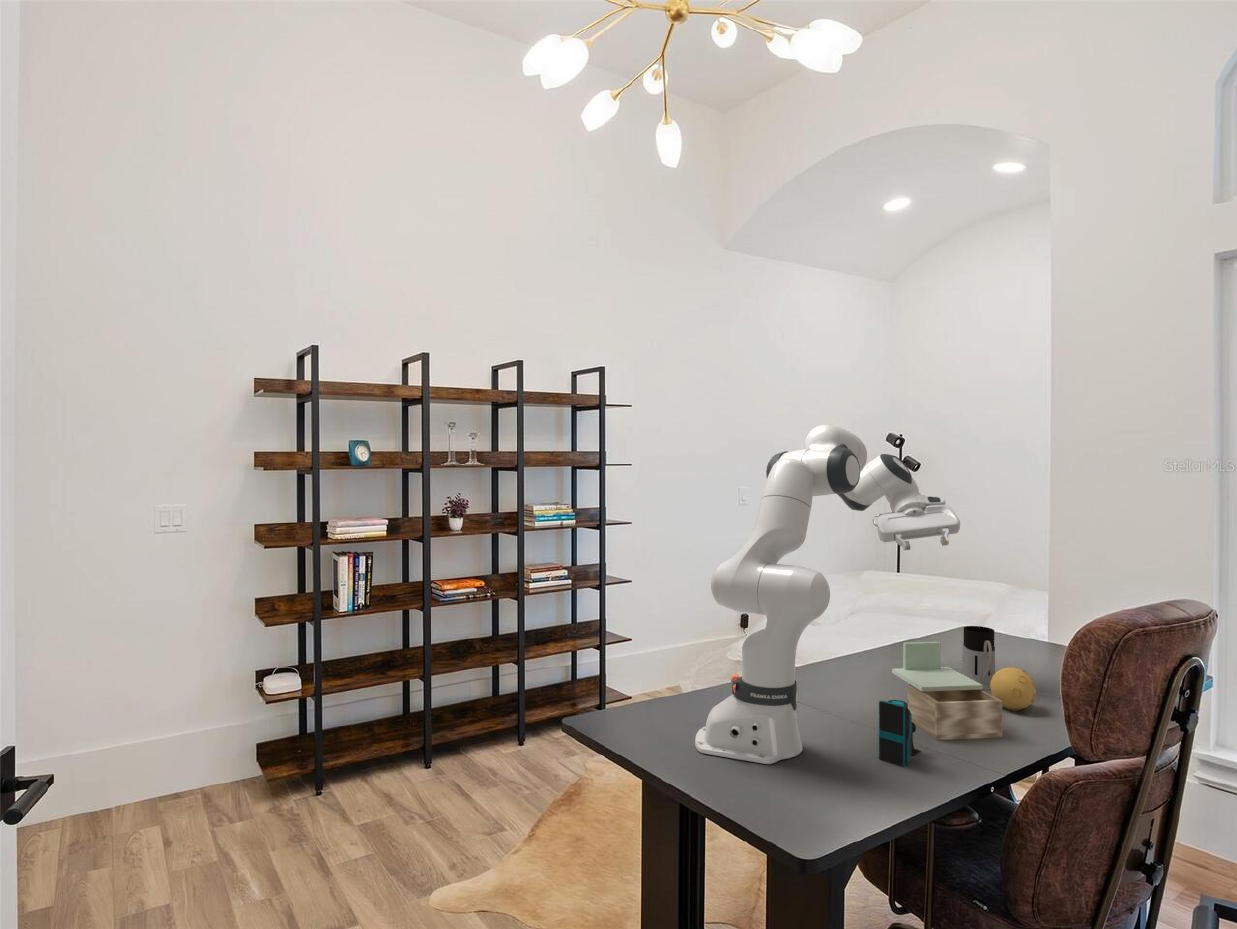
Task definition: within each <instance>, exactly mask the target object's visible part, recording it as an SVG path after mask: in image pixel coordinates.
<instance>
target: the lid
mask: <svg viewBox="0 0 1237 929" xmlns="http://www.w3.org/2000/svg"><path fill="white" fill-rule="evenodd" d="M902 644H903V645H902V647H903V648H902V667H901V668H892V669H891V672H892V674H893V675H895V676H897V677H898V678H900V679H901V680H902V681H904V682H906V683H907V684H911V685H912V686H914V687H915V688H917V689H918V690H920V691H951V690H980V689H982V686H983V685H981V684H980V683H978V682H976V681H974V680H972V679H970V678H968V677H966V676H964V675H963V673H961V672H959V671H957V670H955V669H953V668H951V667H949V666H941V653H942V652H941V644H942V643H941V642H940V641H914V642H913V641H912V642H909V641H907V642H903V643H902Z"/></svg>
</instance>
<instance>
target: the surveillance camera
mask: <svg viewBox="0 0 1237 929" xmlns="http://www.w3.org/2000/svg"><path fill="white" fill-rule="evenodd" d="M916 727H917V725H916V724H915V723H913V722H912V714H911V712H910V710H909V709H908V702H907V701H903V700H900V699H890V700H887V701H885V700H879V701H878V759H879V761H882V762H884V763H885V762H886V763H889V764H892V765H895V766H898V767H900V768H901V767H902V768H903V767H906V766H907V765H908V764H909V762H910V756H911V757H915V756H916V755H918V754H919V753H920V752H921V750H920V749H917V748H915V746H914V735H913V734H914V733H915V732H916V731H917V728H916Z"/></svg>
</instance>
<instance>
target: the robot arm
mask: <svg viewBox="0 0 1237 929" xmlns="http://www.w3.org/2000/svg"><path fill="white" fill-rule="evenodd" d="M867 450H868V449H867V447H866V446H865V444H864V442H863V441H862V439H860V437H858V436H857V435H856V434H854V433H853V432H851V431H848V430H846V429H845V428H842V427H839V426H836V425H831V424H830V425H829V424H820V425H817V426H815V427H813V428H812V429H811V430H810V431H809V432H808V434H807V436H806V438H805V441H804V448H803V449H797V450H791V451H788V450H786V451H782V452H779V453H775V454H774V455H773V456H772V457H771V458H770V460H769V461H768V463H767V466H766V469H765V470H766V471H765V472H766V479H765V480H766V481H765V483H764V486H763V489H762V492H761V493H762V494H761V496H760V502H759V505H758V510H757V515H756V518H755V521H754V525H753V528H752V530H751V533H750V535H749V538H748V539H747V540H746V541H745V543H744V544H743V546H742V547H741V548H740V549H739V550H738V551H737V553H735V554H734V555H733V556H731V557H730V558H729V559H727V560H725V561H724V562H721V563H720V564H719V565H718V566H717V567H716V569H715V570H714V572H713V573H712V577H711V581H710V589H711V594H712V597H713V599H714V601H715V602H716V603H717V604H718V605H719V606H723V607H724V608H727V609H730V610H733V611H736V612H740V613H741V612H742V613H747V614H754V615H761V616H762V615H763V616H766V625H765V628H763V629H760V630H758V631H756V632H753V633H751V634H749V635H748V636H747V637H746V638H745V640H744V641H743V643H742V646H741V676H740V675H739V674H737V673H734V674H732V676H731V679H730V682H731V685H732V686H731V692H732V694H731V695H729V696H728V697H726V698H725V699H723V700H722V701H721V702H719V703H718V704H716V705H714V707H712V708H711V709H710V712H709V713H708V715H707V718H706V723H705V726H703V727H701V728H700V729H699V730H698V731H697V732H696V735H695V737H694V738H695V740H694V747H695V748H696V750H697V751H698V752H699V753H701V754H706V755H712V756H715V757H717V756H718V757H722V758H724V757H725V758H728V759H729V758H730V759H734V760H740V761H747V762H753V763H758V764H759V763H760V764H765V765H772V764H775V763H777V762H778V761H781V760H785V759H786V760H787V759H791V758H793V757H796V756H798V755H800V754H801V753H802V752H803V744H802V741H801V737H800V733H799V728H798V726H799V725H798V721H797V720H798V719H797V706H798V697H799V696H798V684H797V680H796V656H797V649H798V645H799V644H798V643H799V641H800V638H801V636H802V634H803V632H805V629H806V628H807V627H808V626H809V625H810V624H812V622H814V621H815V620H816V619H818V618H820V617H821V616H822V615H823V614H824V613H825V612H826V610H827V608H828V607H829V604H830V601H831V588H830V586H829V582H828V581H827V579H826V577H825V576H824V574H822V572H821V571H817V570H814V569H811V568H807V567H804V566H802V565H801V566H800V565H792V564H781V563H779V564H778V562H779V561H780V560H781V559H782V558H784V557H785V556H786V555H788V554H790V553H792V552H795V551H797V550H799V549H800V548H801V547H802V546H803V545H804V543H805V542H806V541H805V540H806V537H807V531H808V526H809V520H810V516H811V511H812V506H813V505H812V504H813V497H820V496H828V495H835V494H836V495H837V496H838V497H839V498H840V499H841V500H842V502H843V503H844V504H845V505H846V506H847V507H848V508H850V509H851V510H853V511H858V512H863V511H865V510H867V509H868V508H869V507H870V506H872V505H873V504H874V503H875V502H876V501H878V500H880V499H881V498H883V497H884V496H885V499H886V501H887V502H888V503H889V507H890V509H891V512H886V513H878V514H876V515H875V516H873V517H872V523H873V525H874V526H875V527H877V535H878V538H879V540H880V541H881V542H883V543H890V542H895V544H897V545H899V546H900V547H902V550H903V551H909V550H911V543H910V542H909V540H916V539H923V538H930V537H937V536H938V537H939V536H940V544H941V545H942V547H943V546H944V547H945V546H950V545H949V543H950V541H949V535H954V534H958V533H959V531H960V530H961V521H960V518H959V516H958V514H957V513H956V512H955V511H954V509H953V508H952V507H951V506H949V505H947V504H946V499H945V498H944V497H942V496H933V495H924V494H921V492H920V490H919V487H918V486H919V485H918V484H917V482H916V481H915V479H914V477H913V476H912V474H911V471H910V470H909V468H908V466H907V465H906V464H905V463H904V461H903V460H902V459H901V458H899V457H898V456H895V455H892V454H889V453H887V454H886V453H881V454H880V455H878V456H876V457H875V458H874V459H872V460H871V461H869V462H868V463H867V461H868V451H867Z"/></svg>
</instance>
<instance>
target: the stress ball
mask: <svg viewBox="0 0 1237 929" xmlns="http://www.w3.org/2000/svg"><path fill="white" fill-rule="evenodd" d="M990 689H991V690H990V692H991V695H992V696H994V697H996V698H998V699H999V700H1001V701H1002V707H1005V708H1006V709H1007V710H1008V711H1009V710H1010V711H1013V712H1015V711H1019V710H1022V709H1026V708H1027V707H1029V706H1030V705H1031V704H1034V702H1035V700H1036V698H1037V695H1036V694H1037V688H1036V683H1035V681H1034V679H1033V677H1032V676H1030V675H1029V674H1028V673H1027V672H1026V670H1023V669H1020V668H1019V667H1018V668H1017V667H1008V666H1007V667H1003V668H1001V669H999V670H997V671H995V674H994V675H993V677H992V679H991V683H990Z"/></svg>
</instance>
